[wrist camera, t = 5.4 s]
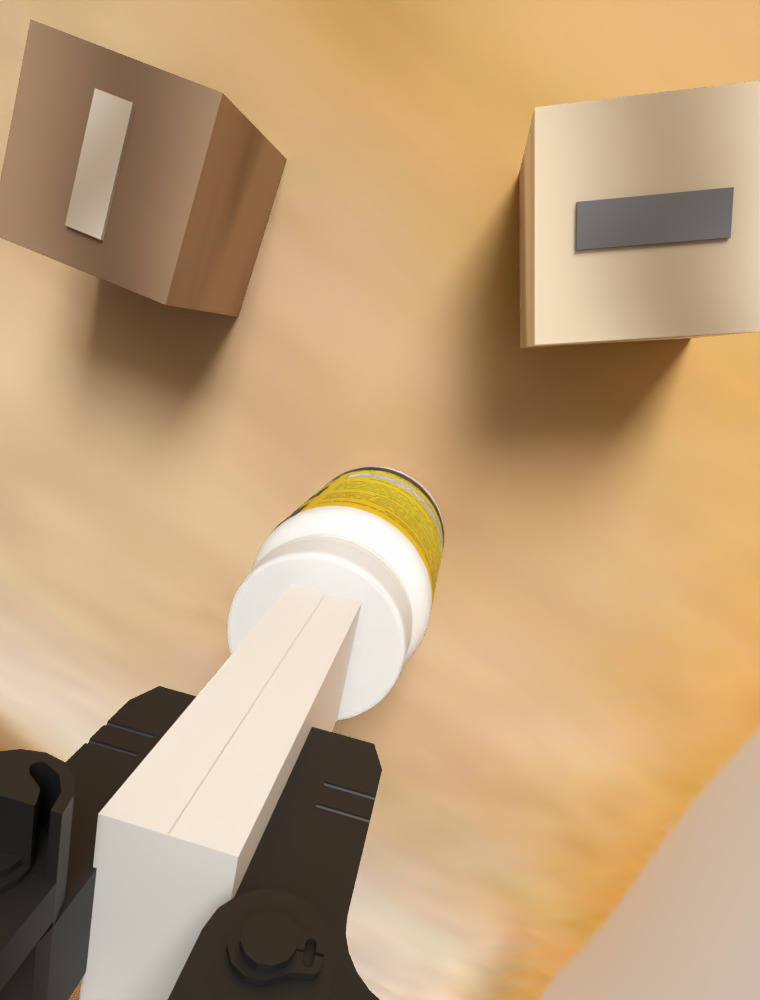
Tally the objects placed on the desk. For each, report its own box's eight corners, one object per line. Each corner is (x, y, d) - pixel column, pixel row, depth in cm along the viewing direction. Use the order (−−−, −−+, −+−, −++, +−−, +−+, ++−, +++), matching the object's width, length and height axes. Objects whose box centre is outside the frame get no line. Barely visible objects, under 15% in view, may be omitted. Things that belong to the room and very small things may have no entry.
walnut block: (104, 262, 21) (-13, 232, 16) (142, 103, 19) (27, 17, 14) (239, 317, 20) (163, 304, 15) (287, 159, 19) (221, 91, 14)
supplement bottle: (329, 445, 21) (235, 501, 13) (463, 488, 20) (454, 574, 12) (295, 572, 22) (189, 698, 14) (421, 614, 22) (388, 768, 14)
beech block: (520, 348, 19) (534, 344, 14) (519, 174, 18) (535, 105, 13) (690, 338, 18) (768, 330, 13) (699, 155, 17) (788, 75, 12)
